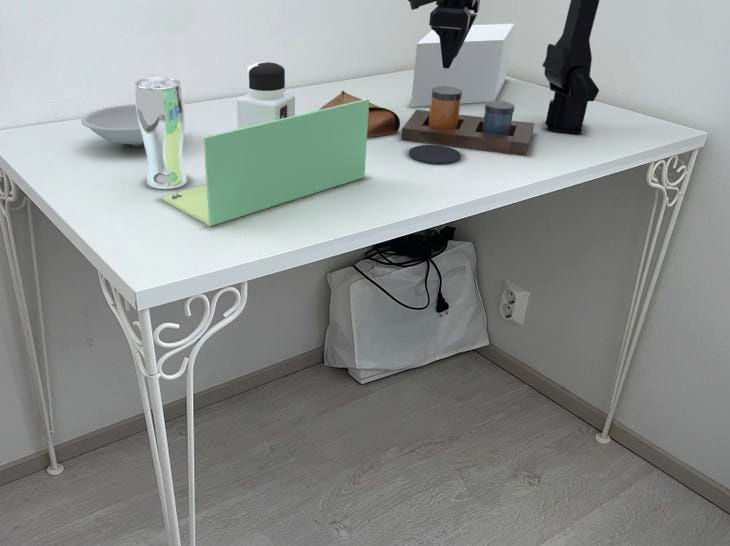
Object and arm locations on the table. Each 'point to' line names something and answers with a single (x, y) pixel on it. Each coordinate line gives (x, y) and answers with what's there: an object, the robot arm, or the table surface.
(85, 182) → the table surface
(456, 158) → the coaster
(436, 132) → the jar stand
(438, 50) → the block
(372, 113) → the sunglasses case
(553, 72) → the robot arm
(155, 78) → the beer glass
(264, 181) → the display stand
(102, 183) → the table surface
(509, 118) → the spice jar
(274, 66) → the container
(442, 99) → the amber jar
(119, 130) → the dish
